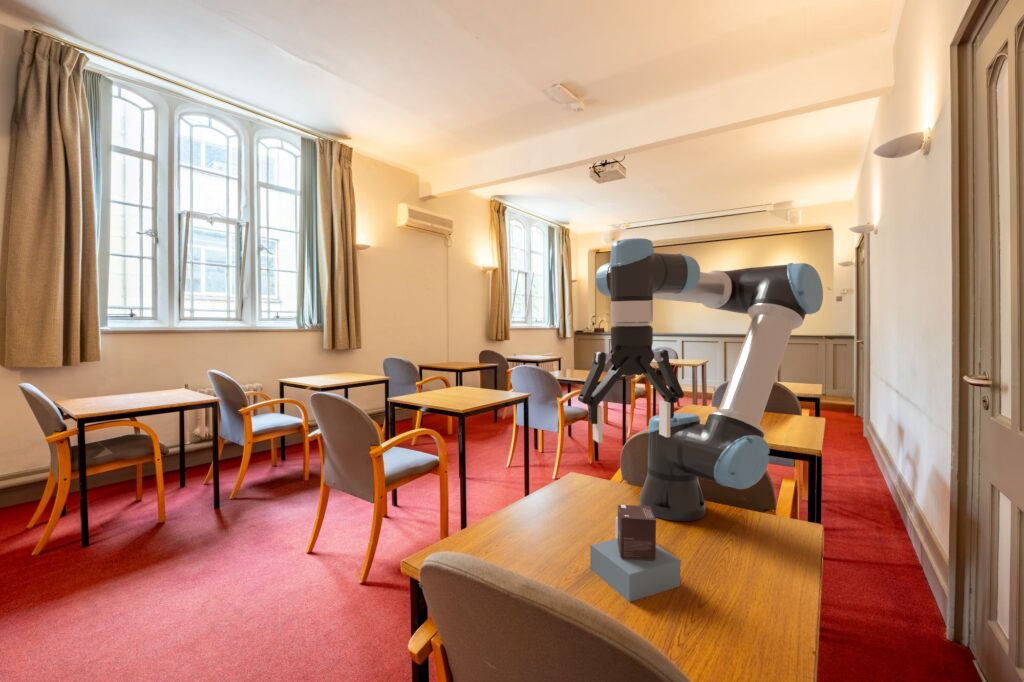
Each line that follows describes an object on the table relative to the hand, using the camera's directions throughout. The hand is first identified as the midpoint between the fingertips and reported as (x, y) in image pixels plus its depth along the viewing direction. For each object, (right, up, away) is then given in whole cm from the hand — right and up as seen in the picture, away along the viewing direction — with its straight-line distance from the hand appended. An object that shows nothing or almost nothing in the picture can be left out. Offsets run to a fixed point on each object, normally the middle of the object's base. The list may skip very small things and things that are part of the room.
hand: (631, 438), depth 87 cm
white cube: (+2, -23, +9) cm, 25 cm away
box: (0, -20, -4) cm, 20 cm away
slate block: (-1, -24, -4) cm, 25 cm away
